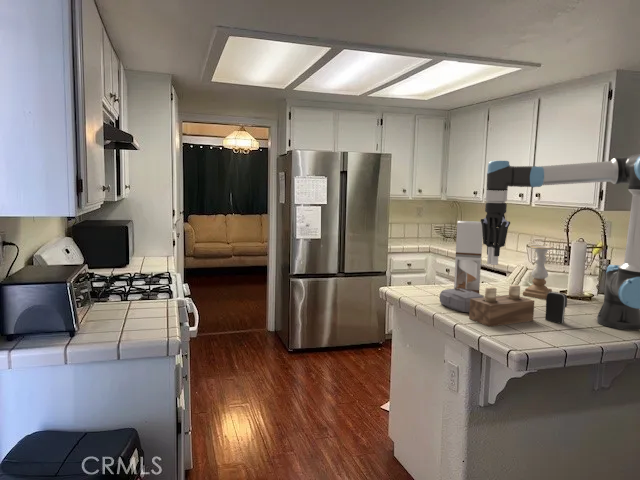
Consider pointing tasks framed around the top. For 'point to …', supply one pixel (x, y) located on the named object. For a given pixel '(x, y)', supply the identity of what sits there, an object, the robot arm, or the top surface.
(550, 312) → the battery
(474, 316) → the collar block
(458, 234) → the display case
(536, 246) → the candle holder
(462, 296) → the soft grey pack
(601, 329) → the top surface
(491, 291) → the outer peg
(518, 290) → the inner peg
